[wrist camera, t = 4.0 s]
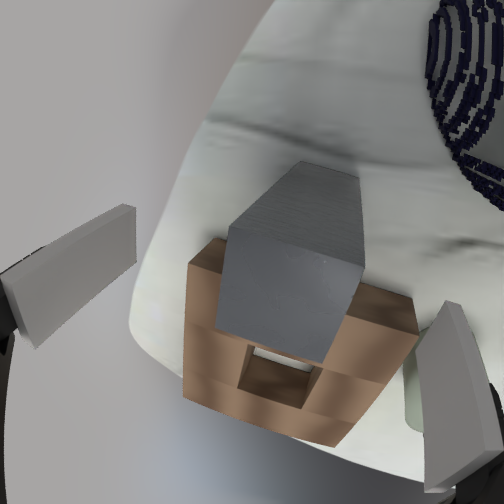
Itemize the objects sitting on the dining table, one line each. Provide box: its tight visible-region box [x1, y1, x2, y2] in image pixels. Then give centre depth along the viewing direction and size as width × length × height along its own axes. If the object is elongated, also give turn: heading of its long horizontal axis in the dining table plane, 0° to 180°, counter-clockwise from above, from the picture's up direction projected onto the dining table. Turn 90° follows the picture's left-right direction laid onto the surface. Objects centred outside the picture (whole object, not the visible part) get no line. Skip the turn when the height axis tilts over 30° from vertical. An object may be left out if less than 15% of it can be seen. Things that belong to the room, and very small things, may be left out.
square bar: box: [215, 161, 365, 364], centre depth 17 cm, size 4×4×14 cm
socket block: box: [183, 238, 420, 448], centre depth 27 cm, size 18×18×5 cm
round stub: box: [403, 327, 489, 433], centre depth 22 cm, size 8×8×7 cm
